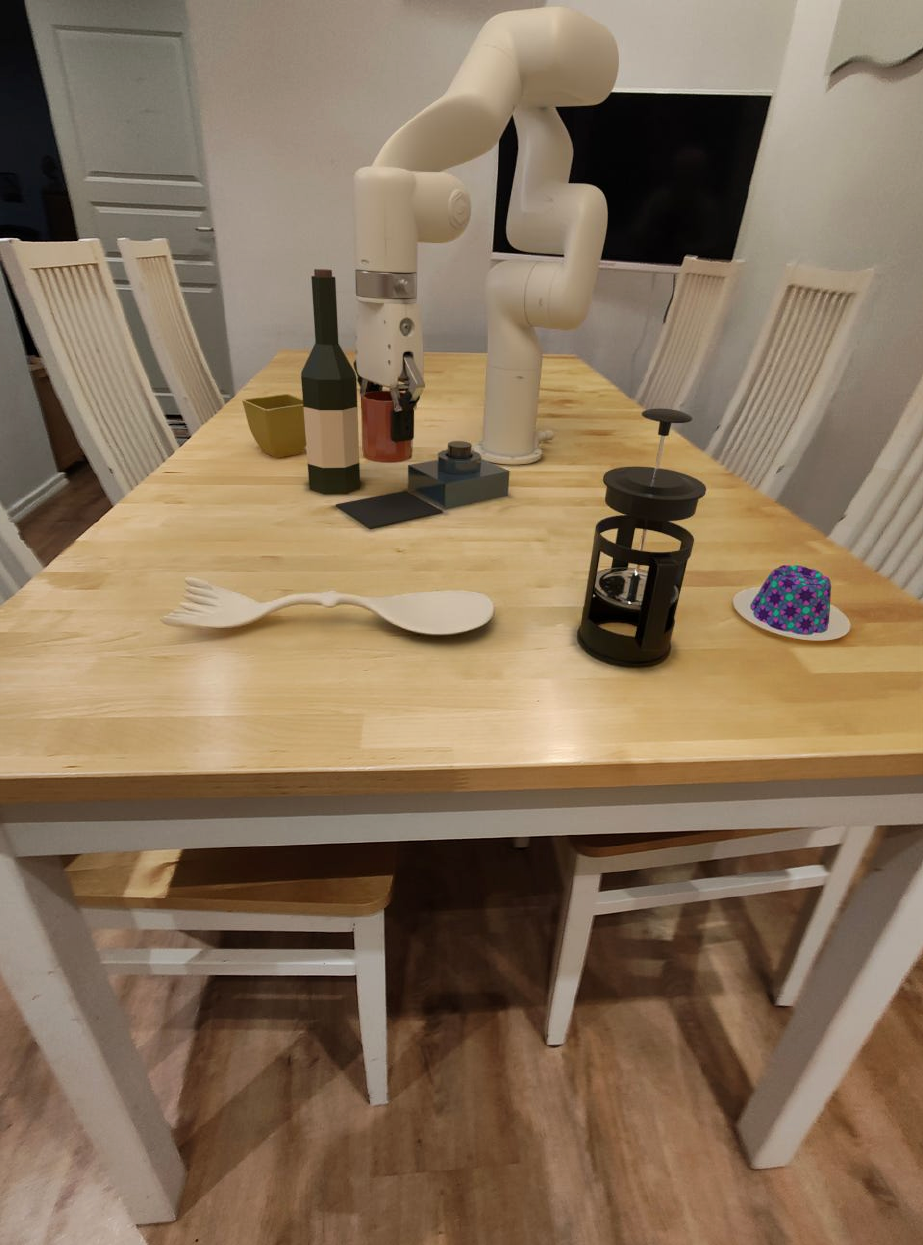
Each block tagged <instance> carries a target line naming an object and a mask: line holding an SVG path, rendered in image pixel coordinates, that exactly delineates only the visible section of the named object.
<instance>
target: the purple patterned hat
mask: <svg viewBox="0 0 923 1245" xmlns="http://www.w3.org/2000/svg"><path fill="white" fill-rule="evenodd" d="M831 597H832V583H831V580H830V579H829V577H827V575H824V574H823V573H822V572H821V571H818V570H816V569H815V568H808V567H806V566H803V565H797V564H796V565H790V564H783V565H781V566H778V567H777V568H774V569H773V570H772V571H771V572H770V573H769V574H768V576H767V578H766V579H765V581H764V582H763V584H762V586H755V587H754V586H753V587H748V588H745V589H742V590H739V591H738V592H736V593H735V595H734V596H733V600H732V604H733V607H734V609H735V610H736V611H737V613H738V614H740V616H742V617H743V618H744V619H745V620H747V621H748V622H750V623H751V624H753V625H755V626H757V627H759V628H761V629H763V630H766V631H768V632H771V633H774V634H777V635H780V636H783V637H788V638H791V639H797V640H805V641H830V640H831V641H832V640H837V639H840V638H842V637H844V636H846V635H847V634H849V632H850V630H851V622H850V619H849V618H848V617H847V615H846V614H845V613H844V612H843V611H842V610H841V609H839V608H838V607H837V606H835V605H833V604H832V603H831V599H832V598H831Z"/></svg>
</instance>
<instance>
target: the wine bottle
mask: <svg viewBox="0 0 923 1245" xmlns="http://www.w3.org/2000/svg"><path fill="white" fill-rule="evenodd" d="M313 273H314V275H311V276H310V278H311V294H312V295H311V296H312V309H313V325H314V340H315V343H314V345H313V346H312V349H311V351H310V353H309V355H308V357H307V359H306V361H305V363H304V366H303V368H302V370H301V373H300V381H301V382H300V383H301V393H302V394H301V396H302V399H303V409H304V422H305V435H306V446H305V448H306V460H307V472H308V474H307V475H308V487H309V491H311V492H315V493H317V494H320V495H324V496H329V495H330V496H331V495H333V496H334V495H348V494H351V493H353V492H357V491H359V490H361V471H360V470H361V467H360V466H361V465H360V441H359V440H360V439H359V413H358V411H359V410H358V409H359V408H358V385H357V384H358V383H357V382H358V381H357V374H356V371H355V369H354V367H353V366H352V364H351V363H350V360H349V359H348V357H347V356H346V354H345V352H344V350H343V349H342V347H341V345H340V343H339V326H338V324H339V323H338V304H337V303H338V302H337V285H336V284H337V282H336V276H333V270H332V269H327V268H325V269H324V268H315V269H313Z"/></svg>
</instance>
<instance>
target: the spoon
mask: <svg viewBox="0 0 923 1245" xmlns="http://www.w3.org/2000/svg"><path fill="white" fill-rule="evenodd" d="M184 582H185V583H186V584H187V585H188V586H186V587H184V588H183V589H184V590H185V591H186V592H188V593H183V594H182V595H181V596H182V597H183V598H184V599H186V600H188V601H190V602H188V601H187V602H186V601H184V602H183V601H182V602H179V606H180V607H181V608H183V609H181V608H174V609H173V610H172V612H170V613H167V615H164V616H160V617H159V621H160V623H162V624H163V625H165V626H168V627H173V628H211V629H213V628H214V629H230V628H238V627H242V626H246V625H249V624H251V623H254V622H257V621H259V620H260V619H263V618H265V617H266V616H267V617H268V616H269V615H271V614H273V613H275V612H277V611H280V610H282V609H285V608H288V607H292V606H301V605H313V606H314V605H317V606H322V607H324V608H326V609H327V608H328V609H333V608H335V607H337V606H340V605H341V606H342V605H349V606H355V607H359V608H362V609H365V610H367V611H370V612H372V613H373V614H376V615H377V616H378V617H380V618H382V619H383V620H385V621H387V622H389V623H390V624H392V625H394V626H396V627H397V628H401V629H403V630H405V631H408V632H411V633H415V634H422V635H430V636H450V635H457V634H463V633H466V632H470V631H473V630H476V629H478V628H481V627H483V626H484V625H486V624H488V623H490V621H491V620H492V619H493V617H494V615H495V613H496V606H495V603H494V600H493V599H492V598H491V597H490V596H488V595H487V594H485V593H482V592H478V591H471V590H457V589H451V590H450V589H449V590H433V591H431V590H430V591H419V592H418V591H415V592H408V593H403V594H402V593H401V594H395V595H387V596H386V595H385V596H378V597H377V596H376V597H372V596H365V595H364V596H363V595H357V594H351V593H350V594H349V593H341V592H338V591H337V590H334V589H333V590H332V589H331V590H327V591H323V592H303V593H292V594H288V595H285V596H281V597H279V598H276V599H273V600H270V601H265V602H261V601H258V600H255V599H253V598H251V597H249V596H247V595H245V594H243V593H240V592H237V591H233V590H229V589H226V588H223V587H221V586H218V585H216V584H213V583H211V582H209V581H206V580H203V579H201V578H198V577H193V576H189V577H186V578H185V579H184Z"/></svg>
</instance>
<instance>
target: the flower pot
mask: <svg viewBox="0 0 923 1245" xmlns="http://www.w3.org/2000/svg"><path fill="white" fill-rule="evenodd" d="M241 401H242V405H243V408H244V413H245V416H246V420H247V424H248V428H249V430H250V432H251V435H252V437H253V439H254V441H255V442H256V444H257V445H258V447H259V448H260V449H261V451H262V452H264V453H266V454H267V455H269V456H272V458H276V459H280V458H285V457H289V456H294V455H299V454H302V453H303V452H304V450H305V448H306V435H305V422H304V409H303V398H301V397H297V396H296V395H292V394H290V393H281V394H275V395H269V396H268V395H267V396H261V397H252V398H245V399H242V400H241Z"/></svg>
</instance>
